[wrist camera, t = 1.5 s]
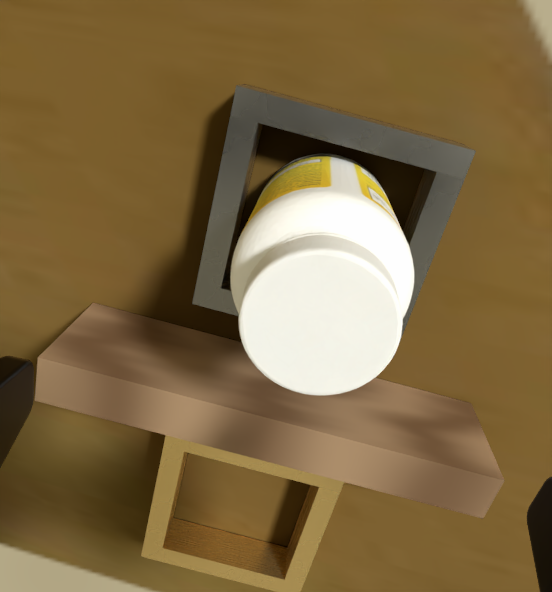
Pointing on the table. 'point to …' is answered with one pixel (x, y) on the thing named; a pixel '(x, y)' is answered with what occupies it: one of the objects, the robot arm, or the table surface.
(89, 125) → the table surface
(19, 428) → the robot arm
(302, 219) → the supplement bottle
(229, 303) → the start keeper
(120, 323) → the brown wooden bar
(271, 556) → the frame
